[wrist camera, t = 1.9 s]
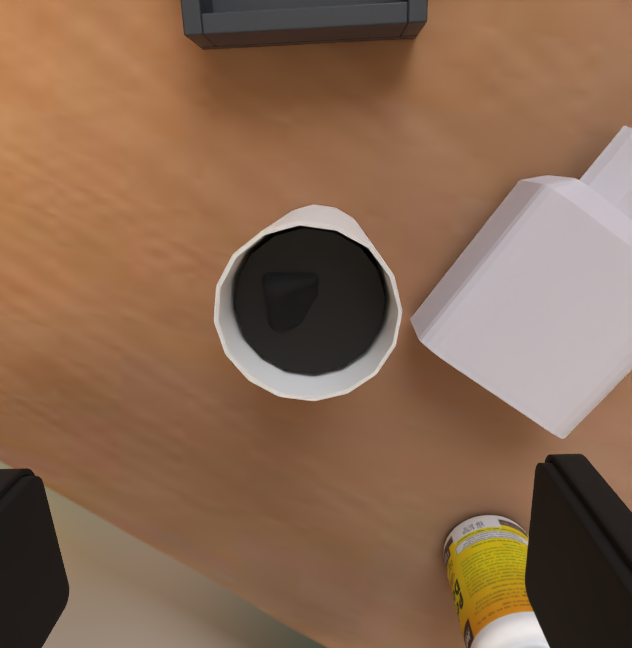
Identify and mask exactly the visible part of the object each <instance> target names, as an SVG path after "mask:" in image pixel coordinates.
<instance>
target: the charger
mask: <svg viewBox="0 0 632 648" xmlns="http://www.w3.org/2000/svg"><path fill="white" fill-rule="evenodd" d="M410 320H411V323H412V325H413V327H414V330H415V332H416V334H417V337H418V339H419V340H420V341H421V342H422V343H423V344H424V345H425V346H426V347H427V348H428V349H430V350H431V351H432V352H433V353H435V354H436V355H437V356H439V357H440V358H441V359H443V360H444V361H446V362H447V363H448V364H450V365H451V366H453V367H454V368H456V369H457V370H459V371H460V372H462V373H463V374H465V375H466V376H468V377H469V378H471V379H472V380H474V381H475V382H477V383H478V384H480V385H481V386H482V387H484V388H485V389H487V390H488V391H490V392H491V393H493V394H494V395H496V396H497V397H499V398H500V399H502V400H503V401H505V402H506V403H508V404H509V405H511V406H512V407H514V408H515V409H517V410H518V411H520V412H521V413H523V414H524V415H525V416H527V417H528V418H530V419H531V420H533V421H534V422H536V423H537V424H539V425H540V426H542V427H543V428H545V429H546V430H548V431H549V432H551V433H553V434H554V435H556V436H558V437H560V438H562V439H565V438H566V437H567V436H568V434H569V433H570V432H571V431H572V430H573V429H574V428H575V427H576V426H577V425H578V424H579V423H580V422H581V421H582V420H583V419H584V418H585V417H586V416H587V415H588V414H589V413H590V412H591V411H592V410H593V409H594V408H595V407H596V406H597V405H598V404H599V403H600V402H601V401H602V400H603V399H604V398H605V397H606V396H607V395H608V394H609V393H610V392H611V391H612V390H613V389H614V388H615V387H616V385H617V384H618V383H619V382H620V381H621V380H622V379H623V378H624V377H625V376H626V375H627V374H628V373H629V372H630V371H631V370H632V128H630V127H627V126H625V125H624V126H623V128H622V129H621V130H620V131H619V132H618V134H617V135H616V136H615V137H614V139H613V140H612V141H611V142H610V143H609V145H608V146H607V147H606V148H605V149H604V151H603V152H602V153H601V154H600V155H599V157H598V158H597V159H596V160H595V162H594V163H593V164H592V165H591V166H590V168H589V169H588V170H587V171H586V172H585V174H584V175H583V176H582V177H581V178H580V180H578V179H575V178H569V177H561V176H552V175H545V176H539V177H534V178H528V179H523V180H519V181H518V182H517V184H516V185H515V186H514V188H513V189H512V190H511V191H510V193H509V194H508V195H507V196H506V198H505V199H504V200H503V202H502V203H501V204H500V205H499V207H498V208H497V209H496V210H495V212H494V213H493V214H492V216H491V217H490V218H489V219H488V221H487V222H486V223H485V224H484V226H483V227H482V228H481V229H480V231H479V232H478V233H477V235H476V236H475V237H474V238H473V240H472V241H471V242H470V243H469V245H468V246H467V247H466V249H465V250H464V251H463V252H462V254H461V255H460V256H459V257H458V259H457V260H456V261H455V263H454V264H453V265H452V266H451V268H450V269H449V270H448V271H447V273H446V274H445V275H444V276H443V278H442V279H441V280H440V282H439V283H438V284H437V285H436V287H435V288H434V289H433V290H432V292H431V293H430V294H429V296H428V297H427V298H426V299H425V301H424V302H423V303H422V304H421V306H420V307H419V308H418V310H417V311H416V312H415V313H414V315H413V316H412V317H411V318H410Z"/></svg>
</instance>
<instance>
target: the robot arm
mask: <svg viewBox="0 0 632 648" xmlns="http://www.w3.org/2000/svg"><path fill="white" fill-rule="evenodd" d="M525 588H526V593H527V597H528V600H529V602H530V604H531V607H532V609H533V611H534V614H535V616H536V618H537V620H538V623H539V625H540V627H541V629H542V632H543V634H544V636H545V638H546V641H547V643H548V645H549V647H550V648H632V512H631V511H630V510H629V509H628V507H627V506H626V505H625V504H624V503H623V501H622V500H621V499H620V498H619V497H618V495H617V494H616V493H615V492H614V491H613V489H612V488H611V487H610V486H609V485H608V483H607V482H606V481H605V480H604V479H603V477H602V476H601V475H600V474H599V473H598V472H597V470H596V469H595V468H594V467H593V466H592V464H591V463H590V462H589V461H588V460H587V458H586V457H585V456H583V455H582V454H554V455H548V456H547V457H546V459H545V463H538V464H537V466H536V470H535V479H534V489H533V500H532V510H531V520H530V530H529V540H528V550H527V560H526V570H525ZM68 597H69V584H68V580H67V576H66V572H65V568H64V564H63V560H62V556H61V552H60V548H59V544H58V540H57V536H56V532H55V528H54V524H53V520H52V516H51V512H50V509H49V504H48V500H47V497H46V493H45V488H44V484H43V482H42V479H41V478H40V477H38V476H35V475H34V473H33V472H32V471H31V470H30V469H0V648H42V646H43V644H44V643H45V641H46V639H47V638H48V636H49V634H50V633H51V631H52V629H53V627H54V626H55V624H56V622H57V621H58V619H59V617H60V615H61V614H62V612H63V610H64V608H65V606H66V604H67V601H68Z"/></svg>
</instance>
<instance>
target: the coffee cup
mask: <svg viewBox="0 0 632 648" xmlns="http://www.w3.org/2000/svg"><path fill="white" fill-rule="evenodd" d="M401 316H402V307H401V303H400V298H399V294H398V290H397V285H396V281H395V277H394V274H393V273H392V272H391V270H390V269H389V267H388V266H387V264H386V263H385V262H384V260H383V259H382V257H381V256H380V254H379V253H378V252H377V250H376V249H375V247H374V246H373V244H372V243H371V242H370V240H369V239H368V237H367V236H366V234H365V233H364V232H363V230H362V229H361V228H360V226H359V225H358V223H357V222H356V221H355V219H354V218H352V217H351V216H349V215H347V214H346V213H344V212H342V211H340V210H339V209H337V208H335V207H329V206H322V205H314V204H313V205H309V206H306V207H302V208H298V209H295V210H292V211H291V212H289V213H288V214H286V215H285V216H283V217H282V218H280V219H279V220H277V221H276V222H274V223H273V224H271V225H270V226H268V227H267V228H265V229H264V230H262V231H261V232H260V233H259V234H257V235H256V236H255V237H254V238H252V239H251V240H250V241H249V242H247V243H246V244H245V245H244V246H242V247H241V248H240V249H239V250H237V251H236V252H235V253H234V254H233V255H232V257H231V259H230V261H229V262H228V264H227V266H226V268H225V270H224V272H223V274H222V276H221V278H220V280H219V282H218V283H217V285H216V296H215V311H214V323H215V326H216V329H217V332H218V335H219V338H220V340H221V343H222V346H223V349H224V352H225V354H226V356H227V357H228V358H229V359H230V360H231V361H232V362H233V364H234V365H235V366H236V367H237V368H238V369H239V370H240V372H241V373H242V374H243V375H244V376H245V377H246V378H247V380H249V381H250V382H252V383H254V384H256V385H258V386H260V387H262V388H264V389H266V390H267V391H269V392H271V393H273V394H275V395H277V396H279V397H285V398H293V399H300V400H308V401H317V400H322V399H326V398H330V397H335V396H339V395H344V394H348V393H349V392H351V391H352V390H354V389H355V388H357V387H358V386H360V385H361V384H363V383H364V382H366V381H367V380H369V379H370V378H372V377H373V376H375V375H376V374H377V373H378V371H379V370H380V368H381V367H382V365H383V364H384V362H385V361H386V359H387V358H388V356H389V355H390V353H391V352H392V350H393V349H394V347H395V346H396V342H397V337H398V331H399V326H400V321H401Z"/></svg>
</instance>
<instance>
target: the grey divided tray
mask: <svg viewBox="0 0 632 648" xmlns="http://www.w3.org/2000/svg"><path fill="white" fill-rule="evenodd" d="M427 6H428V0H181V9H182V18H183V27H184V35H185V36H186V37H188V38H189V39H190V40H192V41H193V42H194V43H196V44H197V45H198V46H200V47H201V48H202V49H203V50H205V49H223V48H242V47H260V46H279V45H297V44H316V43H334V42H353V41H371V40H389V39H408V38H416V37H417V36H418V33H419V32H420V31H421V29H422V28H423V26H424V25H425V23H426V22H427Z"/></svg>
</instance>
